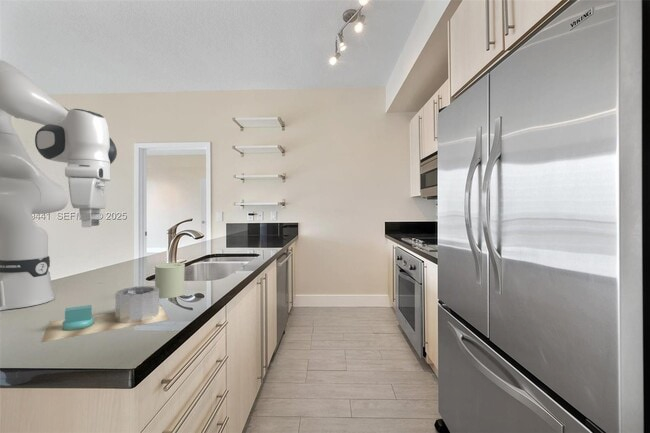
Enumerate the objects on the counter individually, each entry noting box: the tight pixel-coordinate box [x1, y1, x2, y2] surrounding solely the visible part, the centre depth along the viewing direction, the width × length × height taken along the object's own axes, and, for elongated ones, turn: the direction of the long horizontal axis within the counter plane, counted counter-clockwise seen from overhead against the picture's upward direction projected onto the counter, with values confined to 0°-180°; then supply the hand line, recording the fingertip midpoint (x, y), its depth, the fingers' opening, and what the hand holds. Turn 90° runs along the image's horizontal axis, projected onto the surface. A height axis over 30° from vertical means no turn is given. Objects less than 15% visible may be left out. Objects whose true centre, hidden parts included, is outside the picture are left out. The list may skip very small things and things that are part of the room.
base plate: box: [41, 305, 170, 343], centre depth 79 cm, size 25×14×2 cm, turn 126°
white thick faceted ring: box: [114, 285, 160, 323], centre depth 83 cm, size 10×10×7 cm
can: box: [154, 262, 186, 299], centre depth 104 cm, size 9×9×12 cm
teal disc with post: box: [63, 304, 94, 331], centre depth 75 cm, size 6×6×4 cm
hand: (91, 226), depth 80 cm, fingers open, 8 cm apart
